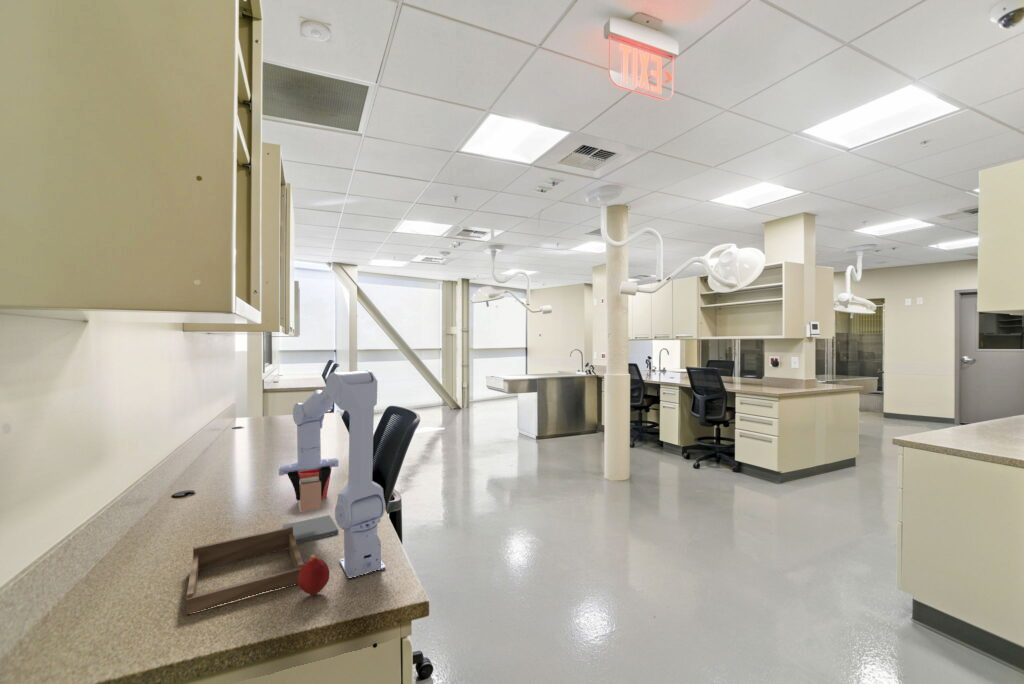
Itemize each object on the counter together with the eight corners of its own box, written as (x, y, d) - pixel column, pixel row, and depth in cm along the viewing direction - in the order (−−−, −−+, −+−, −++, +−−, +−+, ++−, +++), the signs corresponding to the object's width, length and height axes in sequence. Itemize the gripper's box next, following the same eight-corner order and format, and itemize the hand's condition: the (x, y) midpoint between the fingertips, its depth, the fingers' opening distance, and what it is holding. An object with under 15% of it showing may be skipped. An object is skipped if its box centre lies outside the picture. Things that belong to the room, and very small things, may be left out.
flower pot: (323, 503, 137) (322, 473, 137) (288, 504, 138) (288, 473, 138) (337, 492, 148) (336, 463, 148) (305, 492, 148) (305, 463, 148)
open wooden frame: (304, 582, 92) (304, 558, 92) (186, 615, 81) (186, 589, 81) (292, 546, 109) (292, 526, 109) (193, 569, 98) (193, 547, 98)
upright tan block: (321, 507, 117) (321, 480, 117) (300, 511, 114) (300, 483, 114) (318, 502, 121) (318, 475, 121) (298, 505, 118) (298, 478, 118)
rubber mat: (338, 533, 116) (338, 529, 116) (287, 545, 109) (287, 541, 109) (329, 518, 126) (329, 515, 126) (282, 528, 119) (282, 525, 119)
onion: (321, 583, 92) (320, 545, 92) (335, 593, 88) (334, 553, 88) (292, 596, 87) (292, 556, 87) (306, 607, 84) (305, 565, 84)
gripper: (334, 440, 125) (335, 487, 125) (277, 447, 117) (277, 498, 117) (339, 445, 119) (340, 494, 119) (279, 453, 111) (280, 506, 111)
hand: (309, 497), depth 117 cm, fingers closed on upright tan block, 5 cm apart
